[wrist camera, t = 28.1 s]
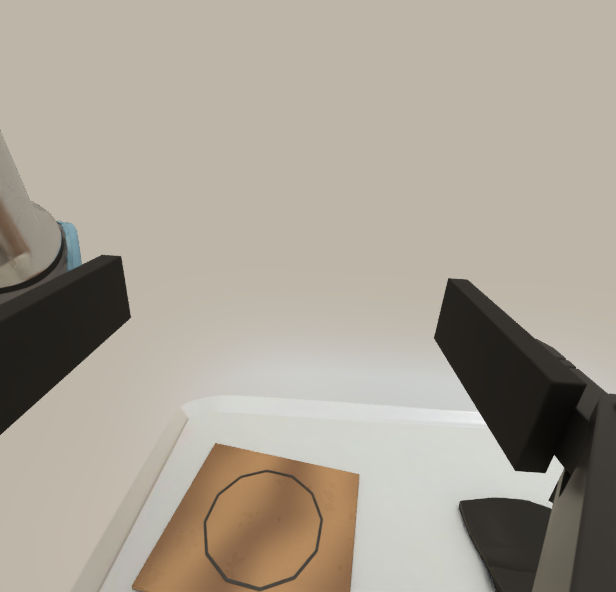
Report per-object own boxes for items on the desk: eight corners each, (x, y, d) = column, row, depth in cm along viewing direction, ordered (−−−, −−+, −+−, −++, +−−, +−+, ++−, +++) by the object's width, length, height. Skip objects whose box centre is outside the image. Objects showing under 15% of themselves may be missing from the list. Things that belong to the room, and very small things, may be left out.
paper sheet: (131, 588, 26) (131, 585, 25) (215, 445, 38) (215, 442, 38) (344, 653, 23) (345, 650, 23) (358, 476, 36) (359, 473, 36)
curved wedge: (671, 613, 26) (682, 601, 26) (498, 608, 26) (504, 596, 25) (589, 507, 34) (595, 496, 33) (453, 503, 33) (457, 491, 33)
